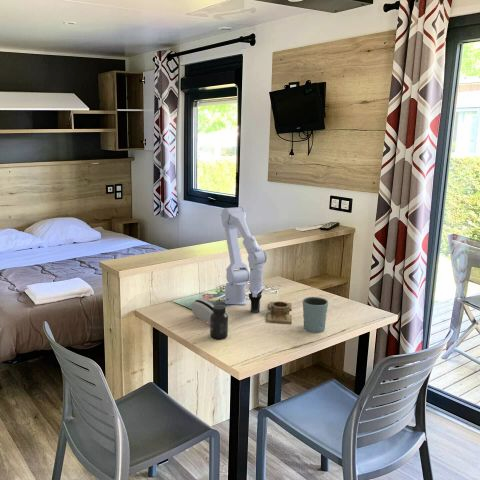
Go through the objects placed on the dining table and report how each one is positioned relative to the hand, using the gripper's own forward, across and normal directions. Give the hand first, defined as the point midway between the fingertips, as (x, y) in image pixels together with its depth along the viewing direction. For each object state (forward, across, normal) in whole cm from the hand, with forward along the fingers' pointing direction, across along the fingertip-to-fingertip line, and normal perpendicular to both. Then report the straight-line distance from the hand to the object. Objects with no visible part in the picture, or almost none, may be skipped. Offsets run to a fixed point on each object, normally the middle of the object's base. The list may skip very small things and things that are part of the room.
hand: (255, 307), depth 216 cm
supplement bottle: (+2, -29, +12) cm, 31 cm away
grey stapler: (+2, -14, +19) cm, 24 cm away
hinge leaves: (+2, 0, -11) cm, 11 cm away
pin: (+2, 0, 0) cm, 2 cm away
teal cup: (+2, -15, -25) cm, 29 cm away
